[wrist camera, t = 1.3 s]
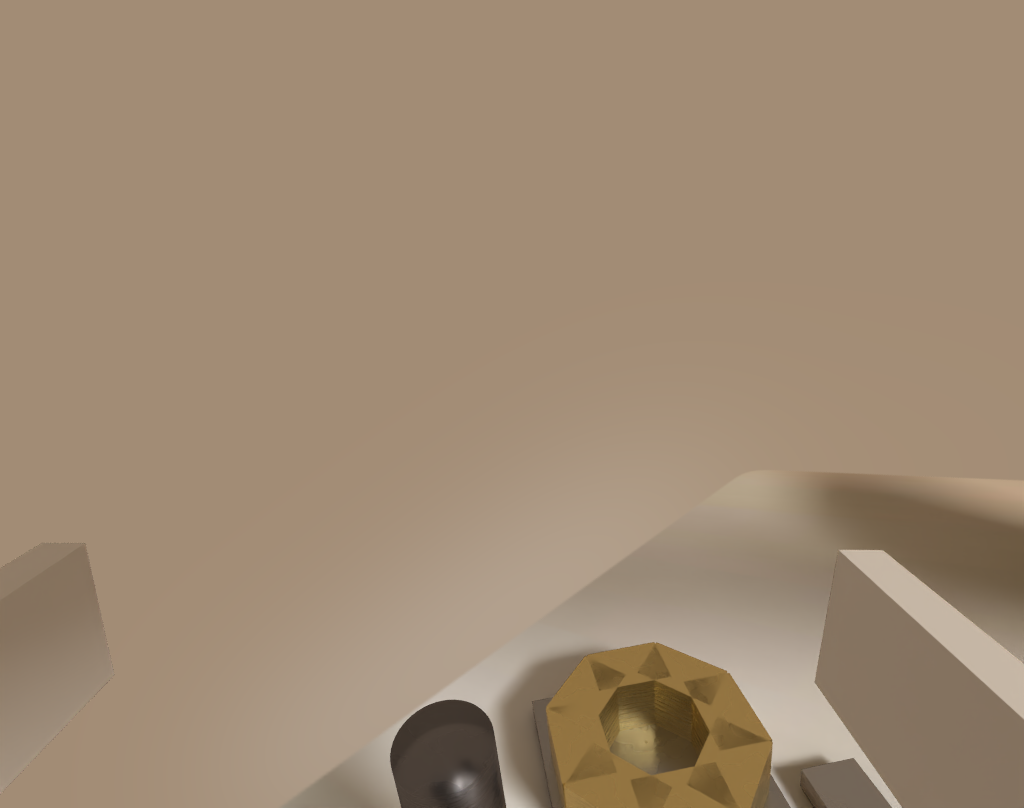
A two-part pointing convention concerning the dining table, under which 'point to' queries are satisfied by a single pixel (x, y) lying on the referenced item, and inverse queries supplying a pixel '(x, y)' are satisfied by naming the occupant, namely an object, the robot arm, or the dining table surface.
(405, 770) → the steel pin
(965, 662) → the robot arm
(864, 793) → the grey bar with ball
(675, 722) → the ring nut
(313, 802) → the dining table surface
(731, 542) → the dining table surface
